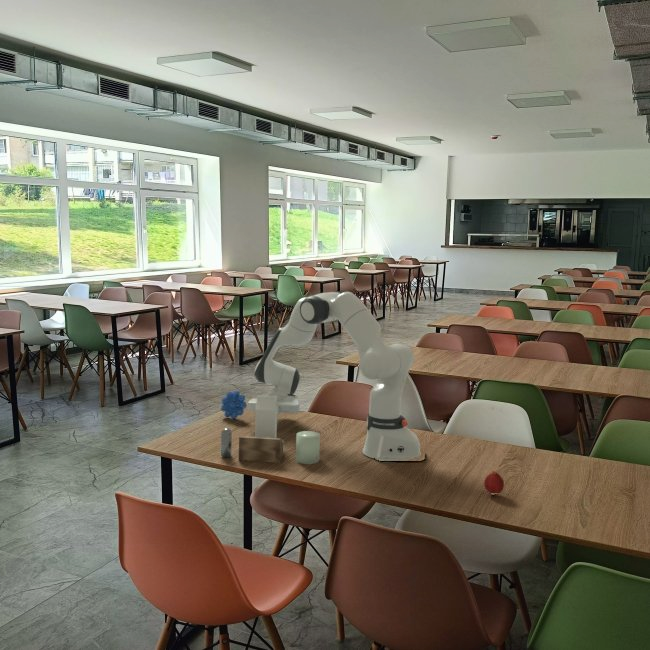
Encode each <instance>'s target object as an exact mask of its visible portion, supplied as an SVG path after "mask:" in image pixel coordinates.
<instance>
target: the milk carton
mask: <svg viewBox="0 0 650 650" xmlns="http://www.w3.org/2000/svg"><path fill="white" fill-rule="evenodd" d="M256 398H257V402H256V409H255V411H254V412H255V416H254V417H255V418H254V419H255V421H254V437H266V438H278V437H277V435H278V433H277V431H278V414H277V396H267V395H257V396H256Z"/></svg>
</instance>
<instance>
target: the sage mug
mask: <svg viewBox="0 0 650 650" xmlns="http://www.w3.org/2000/svg"><path fill="white" fill-rule="evenodd" d="M320 434H321V433H318V432H316V431H313V430H303V431H298V432H297V433H296V434H295V435H296V437H295V439H296V440H295V461H296V462H297V463H299V464H303V465H312V464H313V465H314V464H316V463H318V462H320V445H321V444H320V443H321V438H320V437H321V435H320Z"/></svg>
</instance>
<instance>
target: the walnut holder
mask: <svg viewBox="0 0 650 650" xmlns="http://www.w3.org/2000/svg"><path fill="white" fill-rule="evenodd" d="M238 437H239V438H238V461H245V460H247V461H248V462H263V463H265V462H267V463H278V462H280V463H281V460H282V458H283V455H284V442H285V440H284V439H282V438H281V437H277V438H266V437H255V436H247V435H240V436H238ZM247 461H246V462H247Z"/></svg>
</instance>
